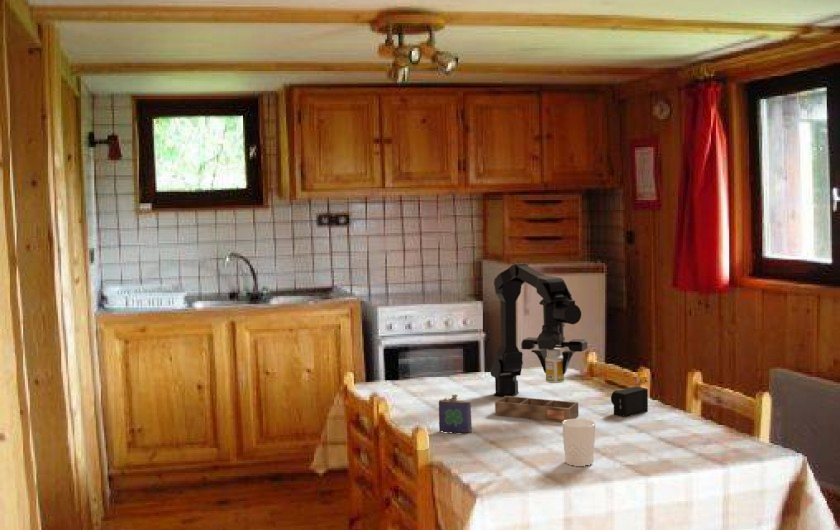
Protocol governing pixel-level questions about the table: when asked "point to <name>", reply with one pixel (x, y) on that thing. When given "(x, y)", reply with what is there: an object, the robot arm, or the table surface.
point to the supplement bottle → (554, 366)
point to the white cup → (579, 441)
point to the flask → (455, 415)
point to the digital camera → (630, 401)
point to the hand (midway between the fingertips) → (554, 373)
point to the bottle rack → (536, 408)
